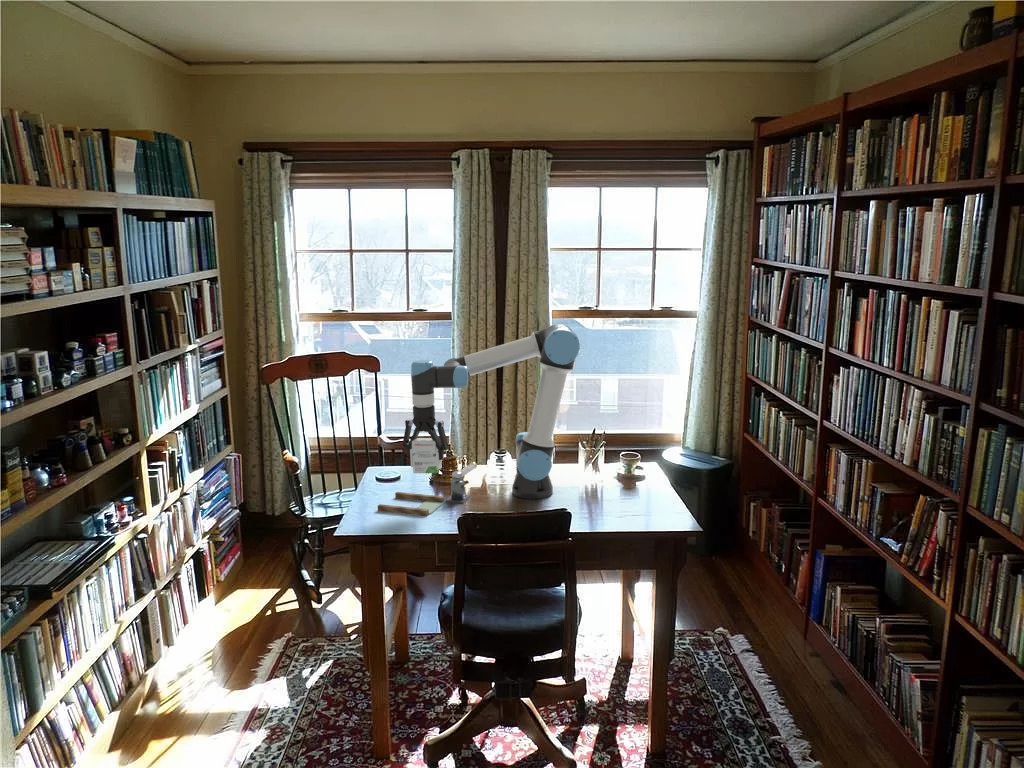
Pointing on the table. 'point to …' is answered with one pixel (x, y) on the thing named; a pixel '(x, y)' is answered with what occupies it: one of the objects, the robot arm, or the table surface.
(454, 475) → the crank
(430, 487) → the table surface
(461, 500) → the winch drum
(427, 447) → the ink box
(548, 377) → the robot arm
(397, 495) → the rails
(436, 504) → the front pad
